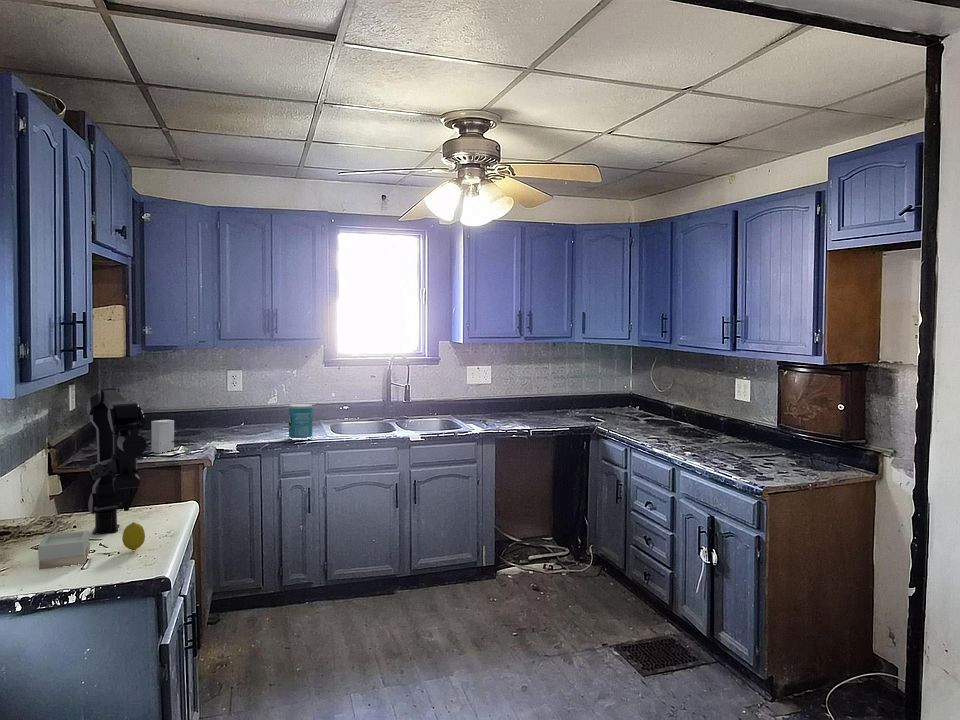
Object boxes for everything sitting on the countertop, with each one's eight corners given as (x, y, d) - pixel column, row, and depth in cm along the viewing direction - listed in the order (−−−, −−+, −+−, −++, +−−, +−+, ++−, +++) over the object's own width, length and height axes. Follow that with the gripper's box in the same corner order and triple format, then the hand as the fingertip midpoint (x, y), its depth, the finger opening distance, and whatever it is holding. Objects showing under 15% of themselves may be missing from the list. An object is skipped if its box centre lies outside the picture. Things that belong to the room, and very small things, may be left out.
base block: (47, 558, 182) (46, 547, 182) (89, 553, 186) (89, 543, 186) (39, 571, 173) (39, 559, 173) (84, 566, 177) (84, 555, 177)
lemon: (118, 551, 187) (118, 522, 186) (139, 546, 191) (138, 518, 191) (128, 555, 184) (128, 526, 183) (148, 550, 188) (148, 522, 187)
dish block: (46, 547, 182) (45, 534, 182) (89, 543, 186) (88, 530, 185) (38, 559, 173) (38, 546, 172) (83, 555, 177) (83, 541, 176)
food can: (283, 439, 355) (283, 405, 353) (298, 436, 366) (298, 402, 364) (302, 441, 350) (302, 407, 349) (316, 438, 361) (317, 404, 360)
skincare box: (159, 454, 313) (158, 422, 312) (150, 452, 316) (150, 420, 315) (175, 451, 320) (174, 419, 319) (166, 449, 323) (166, 418, 322)
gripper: (90, 445, 188) (91, 500, 189) (90, 459, 172) (91, 519, 173) (136, 442, 193) (136, 496, 195) (139, 455, 177) (140, 514, 178)
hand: (125, 506), depth 185 cm, fingers open, 9 cm apart
